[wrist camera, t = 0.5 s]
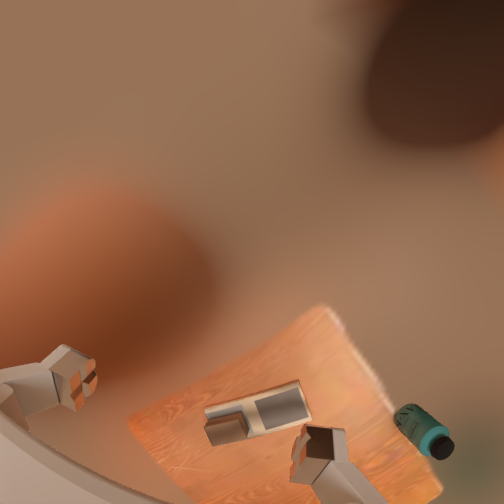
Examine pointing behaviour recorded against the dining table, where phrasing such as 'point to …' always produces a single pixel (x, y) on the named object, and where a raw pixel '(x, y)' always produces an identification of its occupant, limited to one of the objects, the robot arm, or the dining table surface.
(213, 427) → the block
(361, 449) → the dining table surface
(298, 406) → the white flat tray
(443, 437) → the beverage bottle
